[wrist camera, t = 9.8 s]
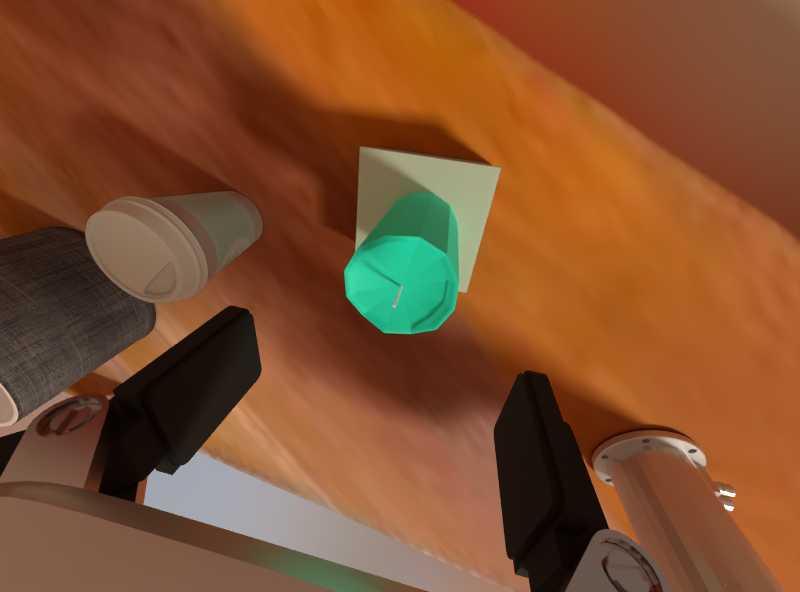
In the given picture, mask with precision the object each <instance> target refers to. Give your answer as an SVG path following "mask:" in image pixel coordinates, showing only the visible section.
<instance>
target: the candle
mask: <svg viewBox="0 0 800 592" xmlns="http://www.w3.org/2000/svg"><path fill="white" fill-rule="evenodd" d="M344 275H345V288H346V297H347V298H348V299H349V300H350V301H351V303H352V304H353V305H354V306H355V307H356V308H357V310H358V311H359V312H360V313H361V314H362V315H363V316H364V317H365V318H366V319H367V320H369V321H370V322H371V323H372V324H374V325H375V326H376V327H377V328H378V329H380V330H381V331H382V332H383V333H398V334H415V333H420V332H426V331H432V330H437V329H438V328H439V326H440V325H441V324H442V323H443V322H444V321H445V320H446V319H447V318H448V317H449V315H450V314H451V313H452V312H453V311H454V310H455V305H456V299H457V293H458V287H459V253H458V223H457V220H456V218H455V216H454V213H453V211H452V208H451V206H450V205H449V204H448V203H446V202H445V201H444V200H442V199H441V198H439V197H438V196H437V195H435V194H433V193H421V192H413V193H411V194H409V195H407V196H405V197H403V198H401V199H399V200H397V201H396V202H395V203H394V204H393V206H392V207H391V208H390V209H389V211H388V212H387V213H386V214H385V215H384V217H383V218H382V219H381V220H380V222H379V223H378V224H377V225H376V226H375V228H374V229H373V230H372V231H371V233H370V234H369V235H368V236H367V237H366V239H365V240H364V241H363V242H362V244H361V245H360V246H359V247H358V249H357V251H356V252H355V254H354V255H353V257H352V259H351V260H350V262H349V264H348V265H347V267H346V269H345V270H344Z"/></svg>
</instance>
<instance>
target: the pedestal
mask: <svg viewBox="0 0 800 592" xmlns="http://www.w3.org/2000/svg"><path fill="white" fill-rule="evenodd" d="M500 170H501V167H497V166H492V165H491V164H490V163H484V162H477V161H471V160H464V159H457V158H450V157H444V156H437V155H430V154H424V153H417V152H410V151H403V150H397V149H390V148H383V147H374V148H370V147H363V146H361V147H360V155H359V178H358V202H357V225H356V249H355V252H356V251H357V249H358V247H359V246H360V245H361V244H362V242H363V241H364V240H365V239H366V237H367V236H368V235H369V234H370V233H371V231H372V230H373V229H374V228H375V226H376V225H377V224H378V223H379V222H380V220H381V219H382V218H383V217H384V215H385V214H386V213H387V212H388V211H389V209H390V208H391V207H392V206H393V204H394V203H395V202H396V201H397V200H399V199H401V198H403V197H405V196H407V195H409V194H411V193H413V192H421V193H433V194H435V195H437V196H438V197H439V198H441V199H442V200H444V201H445V202H446V203H448V204H449V205H450V206H451V208H452V211H453V213H454V216H455V218H456V220H457V223H458V253H459V287H458V291H459V292H465V293H466V292H467V289H468V285H469V282H470V278H471V274H472V271H473V267H474V264H475V260H476V257H477V253H478V249H479V246H480V242H481V239H482V235H483V231H484V228H485V224H486V221H487V217H488V213H489V210H490V206H491V203H492V199H493V196H494V192H495V188H496V185H497V181H498V178H499V174H500Z"/></svg>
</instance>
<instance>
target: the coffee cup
mask: <svg viewBox="0 0 800 592" xmlns="http://www.w3.org/2000/svg"><path fill="white" fill-rule="evenodd" d="M262 230H263V222H262V218H261V215H260V213H259V211H258V209H257V208H256V206H255V205H254V204H253V202H252V201H251V200H249V199H248V198H247V197H246V196H244V195H242V194H240V193H238V192H235V191H221V192H210V193H199V194H188V195H178V196H167V197H156V198H146V199H145V198H141V197H136V196H125V197H121V198H118V199H116V200H114V201H111V202H109V203H107V204H106V205H105V206H103V207H102V209H101V210H100V211H98V212H96V213H94V214H93V215H92V216H91V217H90V218H89V219H88V221H87V224H86V228H85V237H86V242H87V245H88V248H89V251H90V253H91V255H92V257H93V258H94V260H95V262H96V263H97V265H98V266H99V267H100V269H101V270H102V271H103V272H104V273H105V275H106V276H107V277H108V278H109V279H110V280H111V281H112V282H114V283H115V284H116V285H117V286H118V287H120V288H121V289H122V290H124V291H125V292H127V293H129V294H130V295H132V296H134V297H136V298H138V299H141V300H143V301H147V302H150V303H159V304H162V303H168V302H172V301H179V300H184V299H187V298H189V297H192V296H195V295H197V294H198V293H199V292H201V291H202V289H203V288H204V286H205V284H206V282H207V281H208V280H209V279H211V278H212V277H213V276H214V275H216V274H217V273H218V272H219V271H220V270H222V269H223V268H224V267H225V266H227V265H228V264H229V263H230V262H231V261H233V260H234V259H235V258H236V257H238V256H239V255H240V254H241V253H242V252H244V251H245V250H246V249H247V248H248V247H250V246H251V245H252V244H253V243H254V242H256V241H257V240H258V239H259V238H260V236H261V234H262Z"/></svg>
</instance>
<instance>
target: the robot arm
mask: <svg viewBox="0 0 800 592" xmlns="http://www.w3.org/2000/svg"><path fill="white" fill-rule="evenodd" d="M261 370H262V369H261V362H260V356H259V350H258V344H257V337H256V331H255V325H254V319H253V316H252V314H250V312H249V310H248V309H245V308H240V307H236V306H228V307H227V308H225V309H224V310H222V311H221V312H220V313H218V314H217V315H216V316H214V317H213V318H211V319H210V320H209V321H207V322H206V323H205V324H203V325H202V326H200V327H199V328H198V329H196V330H195V331H194V332H192V333H191V334H189V335H188V336H187V337H185V338H184V339H183V340H181V341H180V342H178V343H177V344H176V345H174V346H173V347H172V348H170V349H169V350H167V351H166V352H165V353H163V354H162V355H161V356H159V357H158V358H156V359H155V360H154V361H152V362H151V363H150V364H148V365H147V366H145V367H144V368H143V369H141V370H140V371H139V372H137V373H136V374H134V375H133V376H132V377H130V378H129V379H128V380H126V381H125V382H123V383H122V384H121V385H119V386H118V387H117V388H115V389H114V390H113V392H114V394H115V396H113V397H112V398H111V399H108V398H107V397H106V396H104V395H102V394H96V393H89V394H82V395H77V396H74V397H71V398H68V399H65V400H63V401H61V402H59V403H56V404H54V405H53V406H51V407H49V408H48V409H46V410H44V411H43V412H42V413H40V414H39V415H38V416H37V417H36V418H35V419H33V421H32V422H31V423H30V425H29V426H28V427H27V429H26V430H23V431H20V432H16V433H13V434H10V435H7V436H3V437H0V592H428V591H424V590H421V589H418V588H415V587H412V586H408V585H405V584H402V583H399V582H395V581H392V580H389V579H386V578H383V577H379V576H376V575H373V574H370V573H366V572H363V571H360V570H357V569H353V568H350V567H347V566H344V565H340V564H337V563H334V562H331V561H328V560H324V559H321V558H318V557H314V556H311V555H308V554H305V553H301V552H298V551H295V550H291V549H288V548H285V547H282V546H278V545H275V544H272V543H268V542H265V541H262V540H258V539H255V538H252V537H248V536H245V535H242V534H239V533H235V532H232V531H229V530H225V529H222V528H219V527H216V526H212V525H209V524H205V523H202V522H198V521H195V520H192V519H189V518H185V517H182V516H178V515H175V514H172V513H169V512H165V511H162V510H158V509H155V508H152V507H148V506H145V505H143V503H144V497H145V490H146V484H147V477H148V475H149V474H150V473H151V472H152V471H153V470H154V469H156V470H157V471H160V472H164V473H167V474H171V475H173V474H174V473H175V471H176V470H177V469H178V468H179V467H180V466H181V465H184V464H186V463H187V462H188V461H189V460H190V459H191V458H192V457H193V456H194V455H195V453H196V452H197V451H198V450H199V449H200V447H201V446H202V445H203V444H204V443H205V441H206V440H207V439H208V438H209V437H210V435H211V434H212V433H213V432H214V431H215V430H216V428H217V427H218V426H219V425H220V424H221V422H222V421H223V420H224V419H225V418H226V416H227V415H228V414H229V413H230V412H231V410H232V409H233V408H234V407H235V406H236V405H237V403H238V402H239V401H240V400H241V399H242V397H243V396H244V395H245V394H246V393H247V391H248V390H249V389H250V388H251V387H252V385H253V384H254V383H255V382H256V381H257V380H258V378H259V376H260V374H261ZM494 442H495V451H496V461H497V470H498V479H499V489H500V498H501V507H502V517H503V526H504V535H505V544H506V552H507V556H508V558H509V559H512V560H513V562H514V570H515V574H516V575H520V576H523V577H527V578H529V583H530V589H531V592H785V590H784V589H783V588H782V586H781V585H780V583H779V582H778V581H777V579H776V578H775V576H774V575H773V574H772V572H771V571H770V569H769V568H768V567H767V565H766V564H765V562H764V561H763V559H762V558H761V557H760V555H759V554H758V552H757V551H756V550H755V548H754V547H753V545H752V544H751V543H750V541H749V540H748V538H747V537H746V536H745V534H744V533H743V531H742V530H741V529H740V527H739V526H738V524H737V523H736V522H735V520H734V519H733V517H732V516H731V515H730V513H729V512H730V511H732V510H733V508H734V506H733V502H732V500H731V499H730V498H729V497H734V496H735V490H734V488H733V487H732V486H731V485H729V484H725V483H721V482H714V481H713V480H712V479H711V478H710V476H709V475H708V474H707V472H706V471H705V467H706V457H705V454H704V453H703V451H702V450H701V449H700V447H699V446H698V445H697V444H696V443H695V442H694V441H693V440H691V439H689V438H687V437H686V436H683V435H680V434H677V433H673V432H668V431H661V430H641V431H633V432H629V433H624V434H621V435H618V436H615V437H613V438H611V439H609V440H607V441H605V442H604V443H603V444H601V445H600V446H599V447H598V448H597V449H596V450H595V452H594V454H593V456H592V466H593V468H594V471H595V473H596V475H597V476H598V477H599V478H600V479H601V480H602V481H603V482H605V483H607V484H608V485H610V486H612V487H615V489H616V491H617V494H618V496H619V498H620V500H621V503H622V505H623V507H624V510H625V512H626V514H627V516H628V519H629V521H630V523H631V525H632V528H633V530H634V532H635V534H636V537H637V539H638V541H639V543H640V545H639V544H638V543H636V542H635V541H634V540H632V539H631V538H629V537H628V536H626V535H624V534H622V533H620V532H618V531H615V530H609V527H608V524H607V522H606V519H605V516H604V514H603V511H602V508H601V506H600V503H599V500H598V498H597V495H596V492H595V490H594V487H593V484H592V482H591V479H590V476H589V474H588V471H587V468H586V466H585V463H584V460H583V458H582V455H581V452H580V450H579V447H578V445H577V442H576V439H575V437H574V434H573V431H572V429H571V427H570V425H569V424H568V423H567V422H563V419H562V416H561V413H560V411H559V408H558V405H557V402H556V399H555V397H554V394H553V391H552V388H551V385H550V383H549V380H548V377H547V375H545V374H542V373H537V372H533V371H525V373H524V374H521V373H520V374H518V376H517V378H516V380H515V383H514V385H513V387H512V389H511V391H510V394H509V396H508V398H507V400H506V402H505V404H504V407H503V409H502V411H501V413H500V415H499V418H498V420H497V422H496V424H495V428H494ZM728 496H729V497H728Z"/></svg>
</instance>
